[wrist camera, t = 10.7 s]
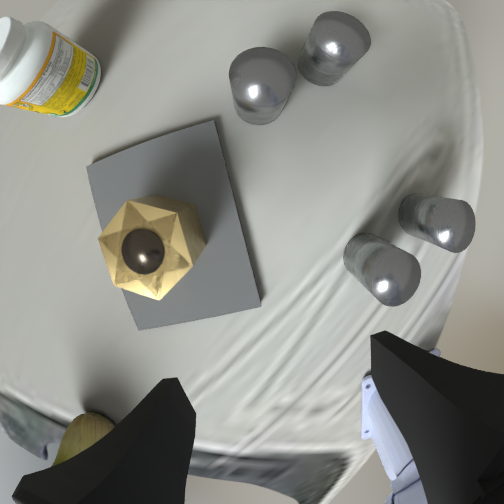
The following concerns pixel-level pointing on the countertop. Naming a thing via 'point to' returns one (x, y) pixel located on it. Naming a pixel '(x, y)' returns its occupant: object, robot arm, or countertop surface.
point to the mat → (210, 215)
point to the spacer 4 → (438, 221)
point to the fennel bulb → (82, 435)
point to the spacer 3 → (382, 268)
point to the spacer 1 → (261, 84)
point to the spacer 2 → (333, 47)
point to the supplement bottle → (44, 69)
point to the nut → (152, 244)
